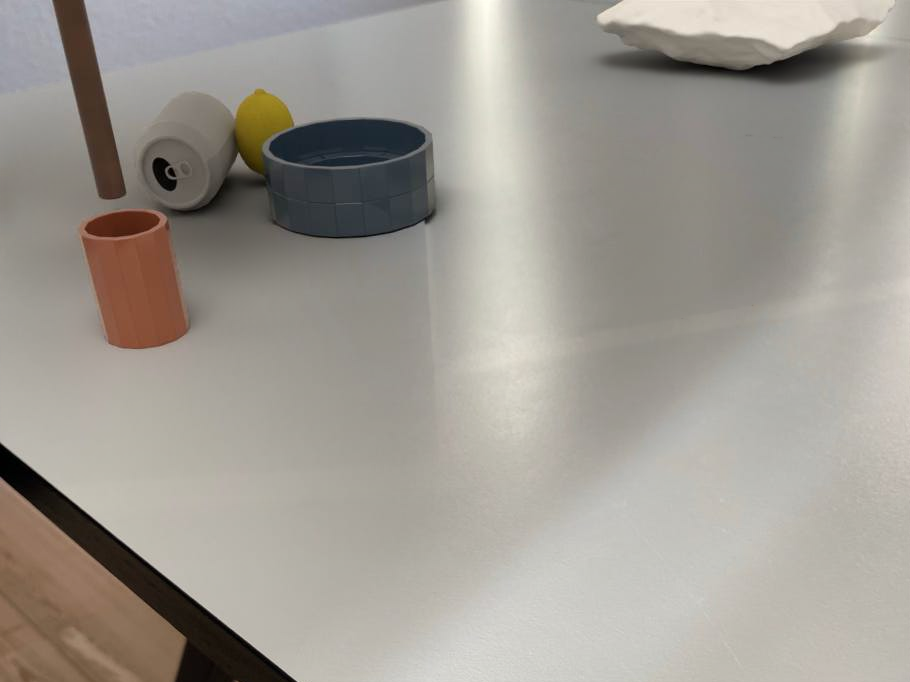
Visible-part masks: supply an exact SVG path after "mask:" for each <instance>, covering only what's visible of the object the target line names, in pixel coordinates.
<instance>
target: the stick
mask: <svg viewBox="0 0 910 682" xmlns="http://www.w3.org/2000/svg"><path fill="white" fill-rule="evenodd" d="M51 2H52V7H53V11H54V14H55V19H56V23H57V27H58V31H59V36H60V40H61V44H62V48H63V52H64V57H65V62H66V65H67V66H66V67H67V69H68V73H69V78H70V83H71V86H72V91H73V94H74V99H75V104H76V107H77V111H78V112H77V113H78V116H79V120H80V123H81V127H82V128H81V130H82V133H83V137H84V142H85V145H86V149H87V154H88V158H89V163H90V166H91V171H92V175H93V179H94V183H95V187H96V188H95V189H96V191H97V192H96V193H97V196H98V198H99V199H101V200H105V201H106V200H107V201H109V200H110V201H111V200H117V199H121V198H123V197H125V196H127V193H128V192H127V189H126V182H125V179H124V175H123V170H122V165H121V160H120V156H119V152H118V147H117V143H116V142H117V141H116V137H115V133H114V129H113V124H112V120H111V115H110V111H109V106H108V102H107V98H106V93H105V88H104V84H103V79H102V75H101V74H102V73H101V71H100V65H99V61H98V57H97V52H96V48H95V43H94V39H93V34H92V29H91V23H90V20H89V16H88V11H87V7H86V3H85V0H51Z"/></svg>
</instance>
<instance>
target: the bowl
mask: <svg viewBox="0 0 910 682" xmlns="http://www.w3.org/2000/svg"><path fill="white" fill-rule="evenodd" d="M433 139H434V138H433V134H432V132H430V131H429V130H428V129H427V128H426V127H424V126H422V125H419V124H416V123H413V122H411V121H409V120H408V121H407V120H401V119H395V118H389V117H372V116H357V117H356V116H355V117H354V116H353V117H337V118H329V119H321V120H316V121H315V120H314V121H310V122H307V123H302V124H297V125H295V126H293V127H290V128H288V129H286V130H283V131H281V132H278V133H276V134H274V135H272V136H271V137H270V138H268V139H267V140H266V141H264V144H263V147H262V150H261V151H262V157H263V164H264V171H265V177H266V178H265V177H264V178H265V183H266V191H267V196H268V204H269V209H270V216H271V218H272V219H273V220H274V221H275V223H276V224H277V225H279V226H281V227H283V228H284V229H287V230H289V231H291V232H296V233H301V234H304V235H310V236H313V237H314V236H316V237H329V238H330V237H332V238H343V237H363V236H371V235H372V236H373V235H377V234H382V233H383V234H384V233H389V232H390V233H391V232H393V231H396V230H399V229H403V228H406V227H410V226H412V225H416V224H417V223H418V222H420V221H422V220H424V219H426V218H427V217H429V216H430V215H431V214H432V213H433V212H434V211H435V209H436V207H437V198H436V197H437V195H436V194H437V193H436V176H435V160H434V159H435V157H434V140H433Z"/></svg>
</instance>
